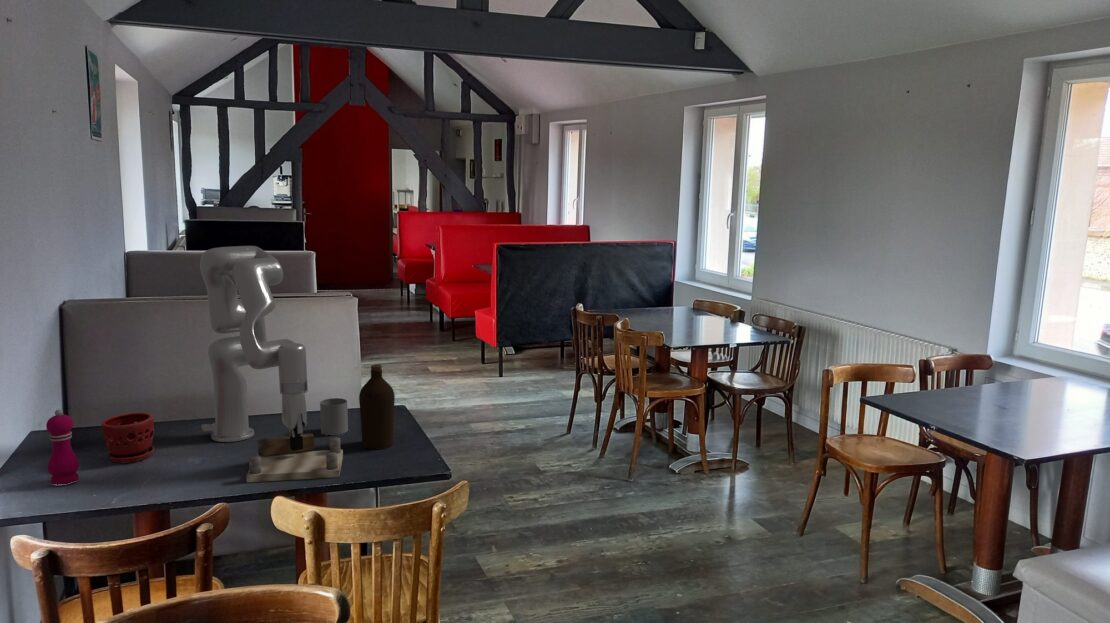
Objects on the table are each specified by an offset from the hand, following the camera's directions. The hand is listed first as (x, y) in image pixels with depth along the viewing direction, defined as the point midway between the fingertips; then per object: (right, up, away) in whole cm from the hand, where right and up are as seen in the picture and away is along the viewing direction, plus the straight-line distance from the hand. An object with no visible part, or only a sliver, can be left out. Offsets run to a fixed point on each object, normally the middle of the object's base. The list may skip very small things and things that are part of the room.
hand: (296, 449), depth 224 cm
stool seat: (+1, -5, -4) cm, 6 cm away
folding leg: (-4, -1, +2) cm, 5 cm away
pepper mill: (-56, -6, -17) cm, 59 cm away
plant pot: (-49, -3, +2) cm, 49 cm away
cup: (+3, 0, +29) cm, 29 cm away
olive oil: (+19, -2, +17) cm, 26 cm away
